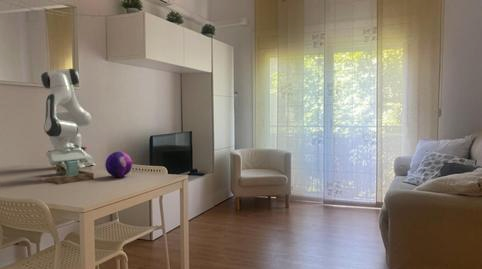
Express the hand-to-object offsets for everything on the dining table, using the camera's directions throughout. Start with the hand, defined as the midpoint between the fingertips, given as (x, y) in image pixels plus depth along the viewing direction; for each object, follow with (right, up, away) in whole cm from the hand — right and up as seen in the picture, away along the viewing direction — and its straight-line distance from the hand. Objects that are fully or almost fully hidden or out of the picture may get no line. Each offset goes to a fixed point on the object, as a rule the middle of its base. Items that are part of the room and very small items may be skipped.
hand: (72, 168), depth 205 cm
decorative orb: (+23, -6, +11) cm, 26 cm away
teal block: (0, -4, +1) cm, 4 cm away
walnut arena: (-2, -7, +1) cm, 7 cm away
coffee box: (-13, -6, +20) cm, 25 cm away
